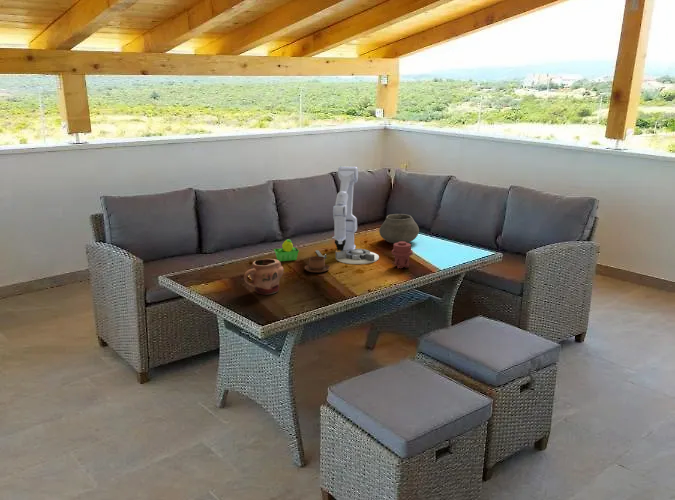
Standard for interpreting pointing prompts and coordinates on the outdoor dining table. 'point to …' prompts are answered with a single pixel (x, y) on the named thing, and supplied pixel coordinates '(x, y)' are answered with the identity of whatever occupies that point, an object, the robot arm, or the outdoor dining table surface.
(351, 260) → the white round disc
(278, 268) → the decorative planter
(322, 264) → the cup and saucer
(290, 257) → the fruit basket
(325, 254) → the pin spanner
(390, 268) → the outdoor dining table surface
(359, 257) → the grey block crown
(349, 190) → the robot arm
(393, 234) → the clay pot
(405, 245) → the mechanical component
